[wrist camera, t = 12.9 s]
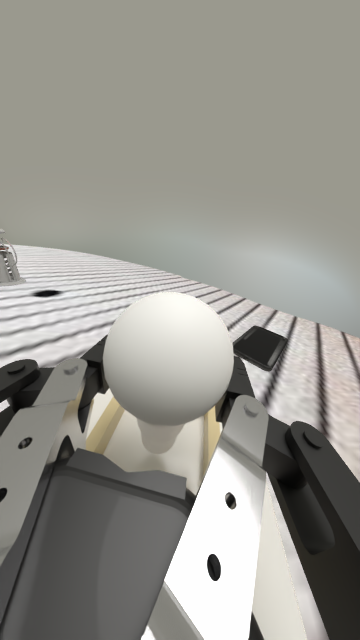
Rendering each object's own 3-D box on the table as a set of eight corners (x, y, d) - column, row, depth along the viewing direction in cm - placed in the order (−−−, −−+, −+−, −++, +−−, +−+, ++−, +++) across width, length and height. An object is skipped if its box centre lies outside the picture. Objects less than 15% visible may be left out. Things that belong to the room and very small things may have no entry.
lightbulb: (212, 488, 9) (298, 335, 4) (102, 515, 8) (56, 331, 3) (188, 397, 15) (215, 284, 10) (120, 403, 13) (113, 273, 8)
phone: (288, 338, 35) (271, 369, 25) (286, 342, 35) (268, 374, 25) (254, 324, 39) (227, 346, 29) (253, 328, 40) (226, 350, 30)
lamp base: (-136, 686, 6) (-233, 712, 4) (113, 366, 22) (111, 347, 20) (354, 922, 4) (473, 1088, 3) (239, 394, 20) (247, 375, 19)
